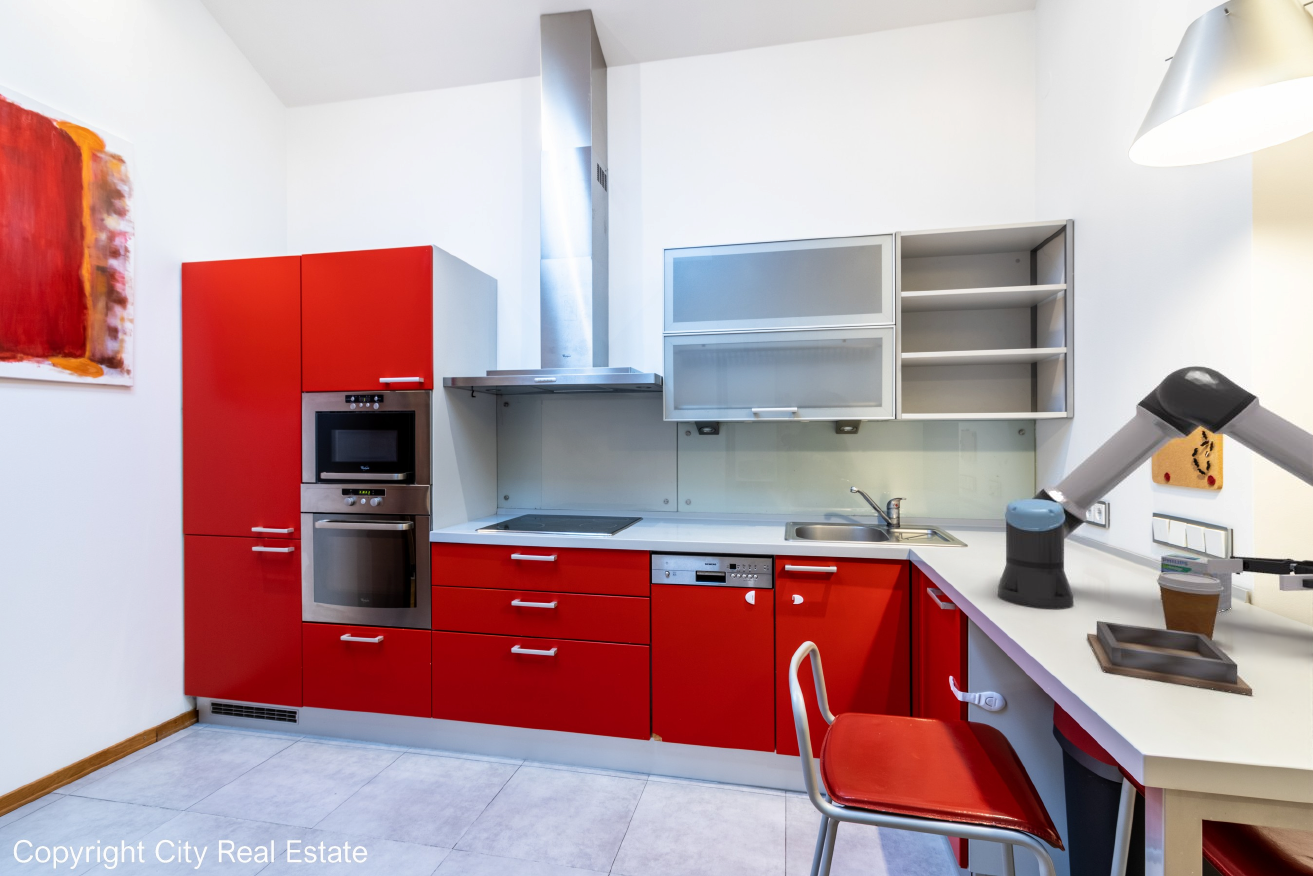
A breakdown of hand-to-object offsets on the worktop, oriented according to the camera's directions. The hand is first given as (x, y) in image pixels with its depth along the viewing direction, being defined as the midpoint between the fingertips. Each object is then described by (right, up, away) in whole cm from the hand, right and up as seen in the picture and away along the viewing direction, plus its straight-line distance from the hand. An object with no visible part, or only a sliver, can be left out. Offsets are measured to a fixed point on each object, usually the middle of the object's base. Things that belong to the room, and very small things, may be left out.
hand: (1242, 574), depth 111 cm
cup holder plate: (-26, -13, -11) cm, 31 cm away
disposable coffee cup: (-10, -13, 0) cm, 16 cm away
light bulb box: (+12, -13, +22) cm, 28 cm away
